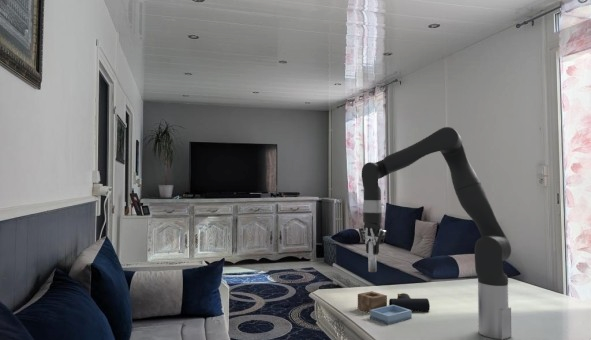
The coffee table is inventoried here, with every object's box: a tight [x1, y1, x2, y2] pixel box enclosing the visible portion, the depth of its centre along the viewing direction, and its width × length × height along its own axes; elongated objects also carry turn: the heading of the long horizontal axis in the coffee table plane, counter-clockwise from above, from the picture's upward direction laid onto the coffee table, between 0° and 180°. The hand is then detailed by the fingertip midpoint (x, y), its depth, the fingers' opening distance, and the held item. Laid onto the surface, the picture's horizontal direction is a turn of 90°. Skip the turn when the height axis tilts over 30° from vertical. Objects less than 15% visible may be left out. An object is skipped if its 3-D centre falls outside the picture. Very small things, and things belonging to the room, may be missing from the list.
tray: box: [369, 305, 413, 325], centre depth 152 cm, size 9×13×3 cm
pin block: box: [357, 290, 388, 314], centre depth 163 cm, size 8×8×6 cm
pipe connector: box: [388, 292, 431, 312], centre depth 166 cm, size 12×5×15 cm
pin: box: [367, 240, 377, 273], centre depth 164 cm, size 3×3×12 cm
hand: (372, 253), depth 164 cm, fingers closed on pin, 3 cm apart
